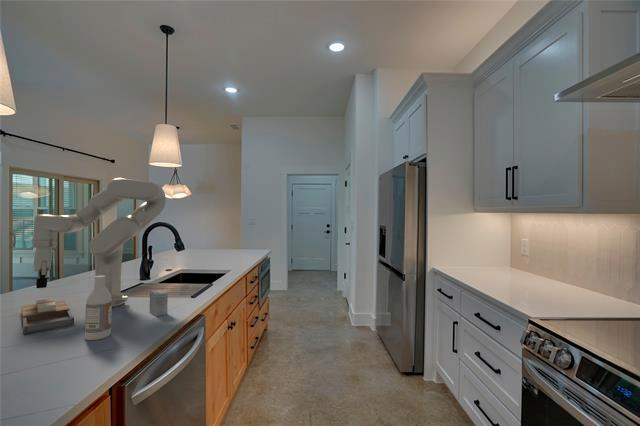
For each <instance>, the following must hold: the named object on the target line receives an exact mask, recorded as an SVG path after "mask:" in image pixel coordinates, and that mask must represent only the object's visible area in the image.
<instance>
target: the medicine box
mask: <svg viewBox="0 0 640 426" xmlns="http://www.w3.org/2000/svg"><path fill="white" fill-rule="evenodd" d="M168 299H169V298H168V293H167V292H165V291H163V290H161V289H160V290H159V289H157V290H152V291H149V307H148V308H149V311H148V312H149V313H150V314H152V315H154V317H160V316H165V315H168V302H169V301H168Z"/></svg>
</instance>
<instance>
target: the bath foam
mask: <svg viewBox="0 0 640 426" xmlns="http://www.w3.org/2000/svg"><path fill="white" fill-rule="evenodd" d="M93 286H94V288H93V289H92V290H91V291H90V293H89V294H88V296H87V297H86V302H85V321H84V323H85V325H84V340H87V341H98V340H99V341H100V340H103V339H105V338H108V337H109V336H111V332H112V311H113V309H112V308H113V307H112V297H111V294H110V292H109V291H108V290H107V288H106V287H105V276H104V275H101V276H95V275H94V283H93Z"/></svg>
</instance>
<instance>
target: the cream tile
mask: <svg viewBox="0 0 640 426" xmlns="http://www.w3.org/2000/svg"><path fill="white" fill-rule="evenodd" d="M37 310H38V313H39V312H45V311H52V310H56V304H55V302H50V303H43V304H37Z"/></svg>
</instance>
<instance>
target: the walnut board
mask: <svg viewBox="0 0 640 426" xmlns="http://www.w3.org/2000/svg"><path fill="white" fill-rule="evenodd" d="M54 302H55V304H56V310H52V311H45V312H39V313H38V310H37V307H36V303H34V304H26V305H21V322H22V323H21V324H23V318H25V317H26V319H27V322H32V321H38V320H44V319H50V318H56V317H62V316H67V311H69V310H70V307H69V306H68V303H67V302H66V300H65V299H63V300H56V301H55V300H54ZM70 311H71V310H70Z"/></svg>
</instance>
